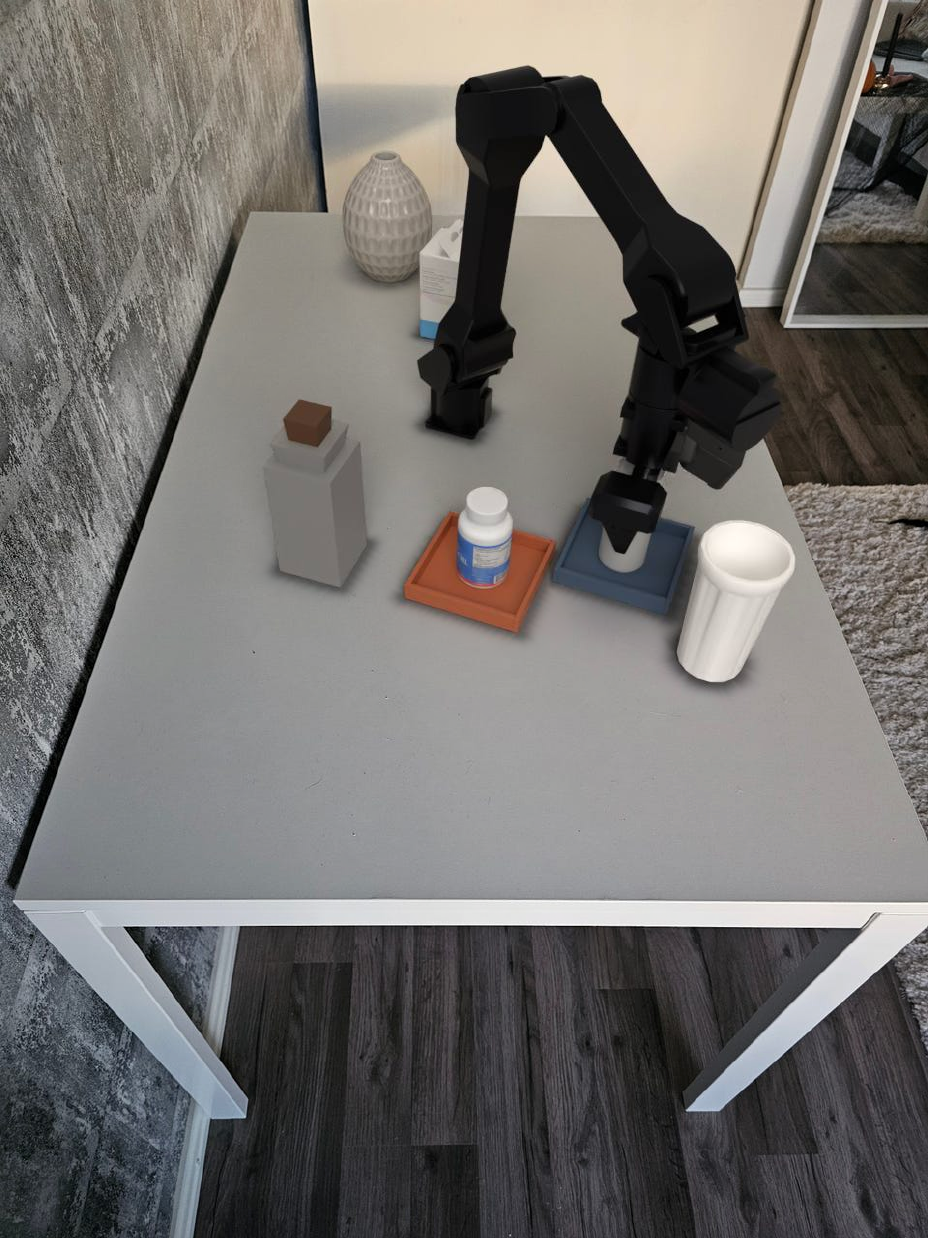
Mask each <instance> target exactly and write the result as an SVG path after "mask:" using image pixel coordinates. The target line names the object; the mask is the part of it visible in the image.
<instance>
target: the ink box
mask: <svg viewBox="0 0 928 1238" xmlns="http://www.w3.org/2000/svg"><path fill="white" fill-rule="evenodd" d="M463 223H464V221H463V220H462V219H461V218H457V219H456V220H455V221H454V222H453V223H452V225H451V226H450V227H449V228H448V227H446V228H445V227H443V226H442V227H441V228H440V229H439V230H438V231H437V232H436V233H435V234H434V236H432V238H431V240H430V241H429V243H428V244H427V245H426V246H425V247H424V248H423V249H422V251H421V252H420V265H419V334H420V337H422V338H428V339H431V340H435V337H436V333H437V328H438V324H439V322H440V321H441V319H442V318H443V317H444V315H445V314H446V312H447V311H448V310H449V308H450V307H451V305H452V304H453V303H454V301H455V296H456V287H457V278H458V268H459V259H460V250H461V241H462V232H463Z"/></svg>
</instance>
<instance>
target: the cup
mask: <svg viewBox="0 0 928 1238" xmlns="http://www.w3.org/2000/svg"><path fill="white" fill-rule="evenodd" d="M697 561H698V563H697V566H696V570H695V575H694V579H693V583H692V587H691V591H690V595H689V599H688V604H687V607H686V611H685V616H684V618H683V619H684V621H683V623H682V628H681V632H680V636H679V640H678V644H677V649H676V654H677V659H678V662H679V664H680V665H681V667H683V669H684V670H685V671H686V672H687V673H689V674H690V675H692V676H693V677H695V678H696V679H699V680H703V681H706V682H710V683H725V682H727V681H729V680H732V679H735V677H736V676H737V675H739V673H740V672H741V671H742V669H743V667H744V665H745V663H746V661H747V659H748V657H749V655H750V654H751V652H752V650H753V647H754V645H755V644H756V641H757V639H758V637H759V635H760V633H761V631H762V629H763V628H764V626H765V623H766V621H767V619H768V618H769V616H770V614H771V611H772V609H773V607H774V606H775V603H776V601H777V600H778V597H779V595H780V593H781V591H782V589H783V587H784V586H785V585H786V584H787V583H788V581H789V580H790V579H791V577H792V576H793V574H794V572H795V566H796V562H797V560H796V556H795V554H794V551H793V548H792V546H791V544H790V542H788V541H787V540H786V539H785V537H783V535H781V534H780V533H779V532H777V531H775V530H774V529H771V528H770V527H768V526H767V525H764V524H763V523H757V522H754V521H749V520H731V519H729V520H725V521H722V522H718V523H715V524H713V525H711V527H710V528H708V529H707V530H706V531H705V532H704V533H703V534H702V535H701V537H700V540H699V544H698V548H697Z"/></svg>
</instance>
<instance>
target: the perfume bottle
mask: <svg viewBox="0 0 928 1238" xmlns="http://www.w3.org/2000/svg"><path fill="white" fill-rule="evenodd" d="M332 412H333V406H331V405H330V406H329V405H325V404H321V403H316V402H313V401H309V400H304V399H298V400H297V401H296V402H295V403H294V405H293V406H292V407H291V408H290V409H289V411H288V412H287V413H286V414H285V416H283V418H282V422H283V426H282V427H281V429H280V430H279V431H278V432H277V434H276V435H275V437H274V438H273V439H272V440H271V441H270V442H269V446H270V447H271V450H272V451H273V452H272V453H271V455H270V456H269V457H268V458H267V460H266V461H265V463H264V464H263V465H262V472H263V473H262V474H263V478H264V482H265V489H266V495H267V502H268V509H269V513H270V520H271V526H272V531H273V532H272V533H273V537H274V543H275V550H276V556H277V561H278V567H279V572H282V573H286V574H290V575H292V576H296V577H300V578H304V579H308V580H311V581H314V582H319V583H321V584H326V585H328V586H333V587H335V588H342V587H343V585H344V583H345V582H346V580H347V578H348V577H349V575H350V573H351V572H352V570H353V568H355V567H354V566H355V565H356V564H357V562H358V561H359V559H360V557H361V555H362V554H363V552H364V550H365V549H366V548H367V546H368V542H367V540H368V539H367V524H366V510H365V495H364V493H365V492H364V479H363V464H362V463H363V462H362V448H361V440H358V439H354V438H350V437H347V436H348V431H349V427H350V423H348V422H344V421H340V420H336V419H332V417H333V416H332V415H333V413H332Z"/></svg>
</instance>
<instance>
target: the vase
mask: <svg viewBox="0 0 928 1238" xmlns="http://www.w3.org/2000/svg"><path fill="white" fill-rule="evenodd" d="M342 206H343V207H342V217H341V218H342V219H341V220H342V221H341V222H342V231H343V237H344V242H345V243H346V247H347V249H348V251H349V253H350V255H351V257H352V258H353V260H354V261H355V263H356V264H357V265H358V267H359V268H360V270H362V271H363V272H364V274H366V275H367V276H368V277H369V278H371V280H374V281H376V282H379V283H387V284H392V283H399V282H402V281H404V280H407V279H408V278H409V277H410V276H412V274H413V273H414V272H415V271H416V270H417V269H419V267H420V252H421V251H422V249H423V248H424V247H425V246H426V245H427V244H428V243H429V241H430V240H431V239H432V238H433V211H432V205H431V202H430V198H429V196H428V193H427V191H426V189H425V186H424V185H423V183H422V181H421V180H420V178H419V177H418V175H417V174H416V173H415V172H414V171H413V170H412V169H411V168H410V166H408V165H407V164H406V163H405V162H403V159H402V156H401V155H400V154H399V153H398V152H395V151H393V150H378V151H376V152H374V153H372V154H371V156H370V159H369V161H367V163H366V164H364V166H362V167H361V169H360V170H359V171H358V172H357V173H356V175H355V176H354V177H353V179H352V180H351V182H350V184H349V187H348V189H347V191H346V194H345V197H344V201H343V205H342Z"/></svg>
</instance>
